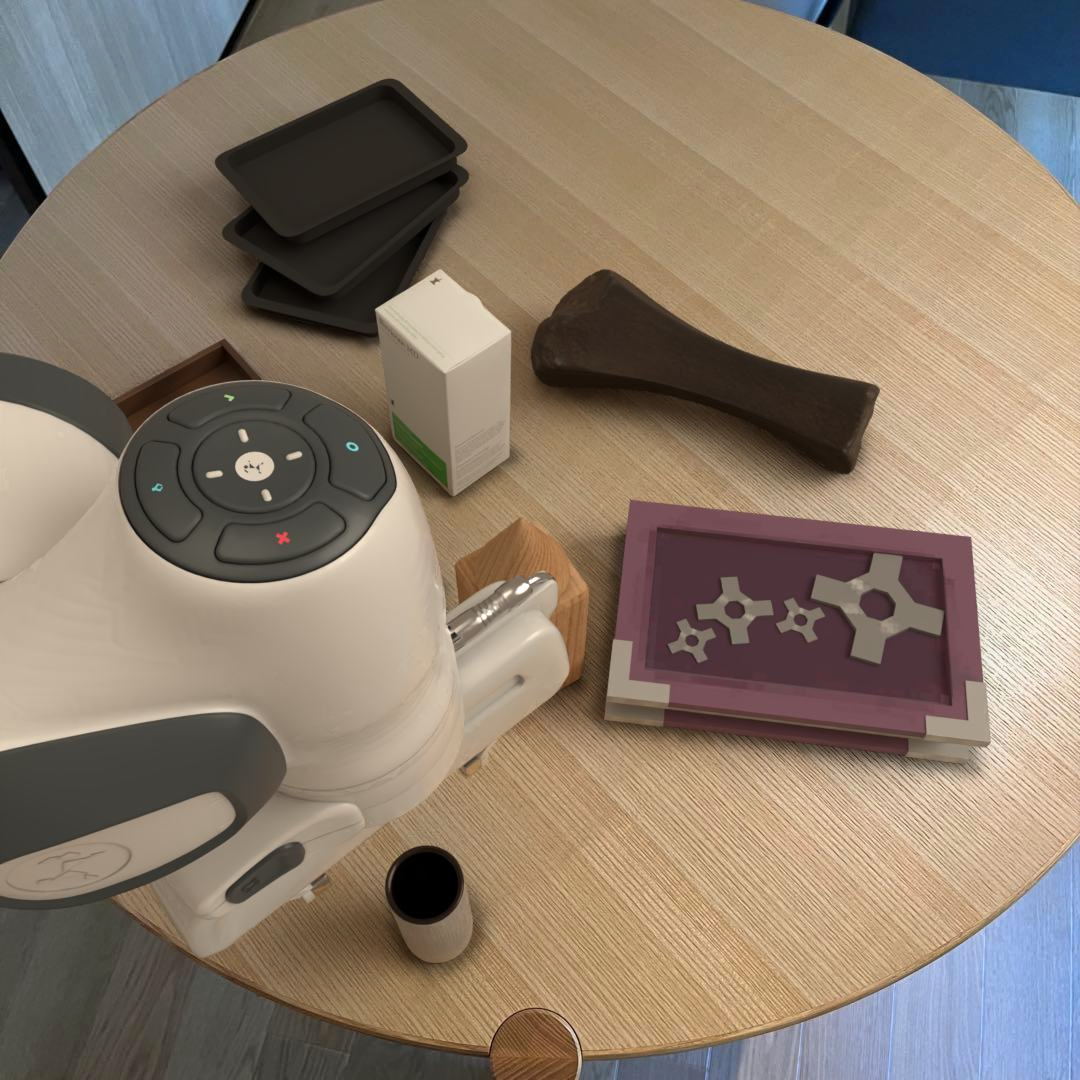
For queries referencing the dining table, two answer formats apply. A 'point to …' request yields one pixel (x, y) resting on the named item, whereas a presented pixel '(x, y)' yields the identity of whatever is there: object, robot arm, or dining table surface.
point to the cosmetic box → (447, 380)
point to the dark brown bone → (696, 370)
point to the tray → (343, 205)
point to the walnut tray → (184, 381)
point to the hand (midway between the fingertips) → (391, 819)
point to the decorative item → (526, 555)
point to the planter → (430, 903)
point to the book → (799, 632)
